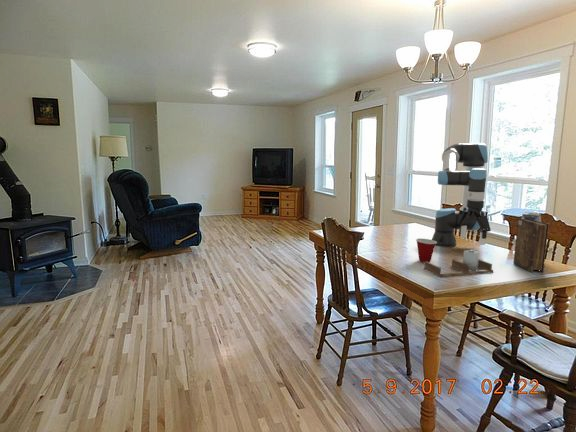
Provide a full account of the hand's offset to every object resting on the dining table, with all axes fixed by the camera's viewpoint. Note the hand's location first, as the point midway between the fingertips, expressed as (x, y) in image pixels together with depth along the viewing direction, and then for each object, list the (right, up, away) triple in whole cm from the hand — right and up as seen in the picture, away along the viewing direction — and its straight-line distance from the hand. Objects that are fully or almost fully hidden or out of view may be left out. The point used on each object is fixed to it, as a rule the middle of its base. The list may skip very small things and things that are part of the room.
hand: (472, 241), depth 190 cm
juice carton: (+41, -11, +20) cm, 47 cm away
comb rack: (-8, -15, 0) cm, 17 cm away
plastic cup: (-18, -12, +15) cm, 27 cm away
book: (+30, -14, +3) cm, 34 cm away
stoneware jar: (0, -14, +2) cm, 14 cm away
